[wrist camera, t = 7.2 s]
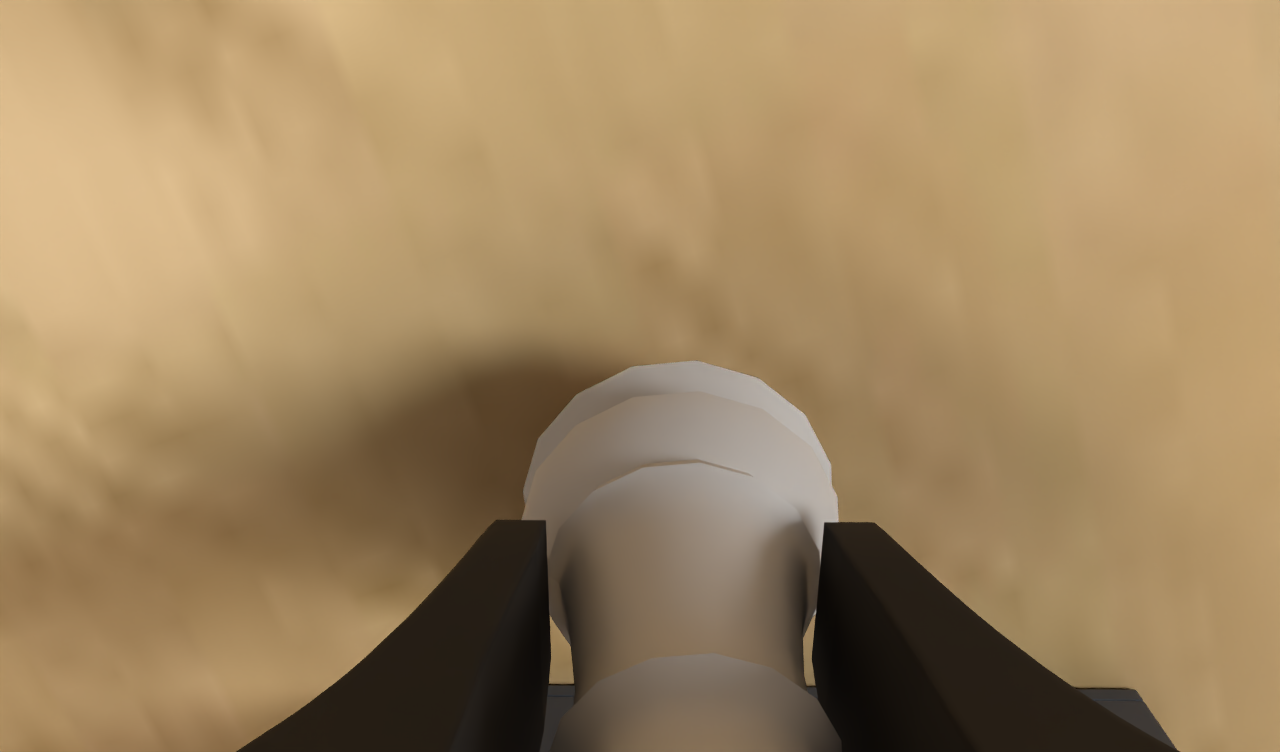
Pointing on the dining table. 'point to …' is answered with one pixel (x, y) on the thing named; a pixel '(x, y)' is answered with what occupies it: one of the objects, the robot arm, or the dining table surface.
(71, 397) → the dining table surface
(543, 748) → the carton
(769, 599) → the rook chess piece
